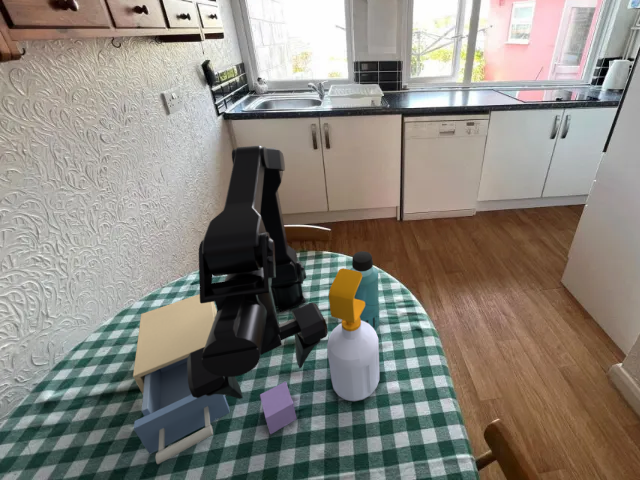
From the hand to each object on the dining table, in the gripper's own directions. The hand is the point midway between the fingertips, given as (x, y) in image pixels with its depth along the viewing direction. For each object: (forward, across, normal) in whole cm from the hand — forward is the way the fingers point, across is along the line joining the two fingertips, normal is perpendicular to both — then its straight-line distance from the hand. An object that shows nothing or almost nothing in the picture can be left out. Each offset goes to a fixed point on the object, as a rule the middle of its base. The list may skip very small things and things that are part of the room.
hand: (271, 380), depth 50 cm
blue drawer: (+8, +13, -9) cm, 18 cm away
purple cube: (+9, 0, 0) cm, 9 cm away
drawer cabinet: (+9, +13, -21) cm, 26 cm away
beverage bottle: (+9, -21, -8) cm, 24 cm away
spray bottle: (+9, -14, +1) cm, 17 cm away
